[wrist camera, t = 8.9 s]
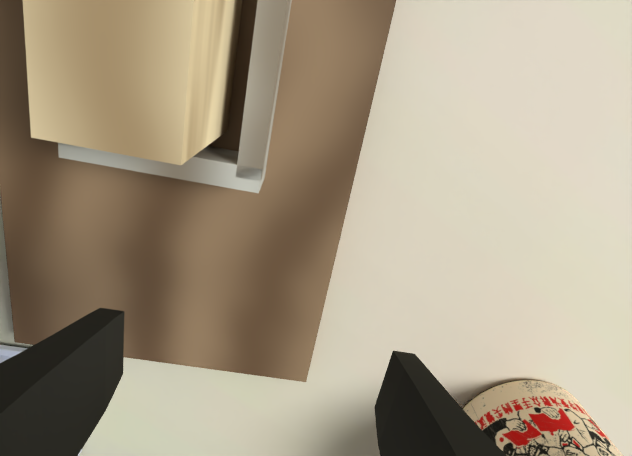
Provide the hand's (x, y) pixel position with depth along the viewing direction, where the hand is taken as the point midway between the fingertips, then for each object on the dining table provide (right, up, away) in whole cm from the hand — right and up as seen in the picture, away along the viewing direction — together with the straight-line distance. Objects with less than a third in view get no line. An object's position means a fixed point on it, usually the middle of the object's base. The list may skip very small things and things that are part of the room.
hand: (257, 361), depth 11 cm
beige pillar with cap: (-4, +12, +5) cm, 14 cm away
